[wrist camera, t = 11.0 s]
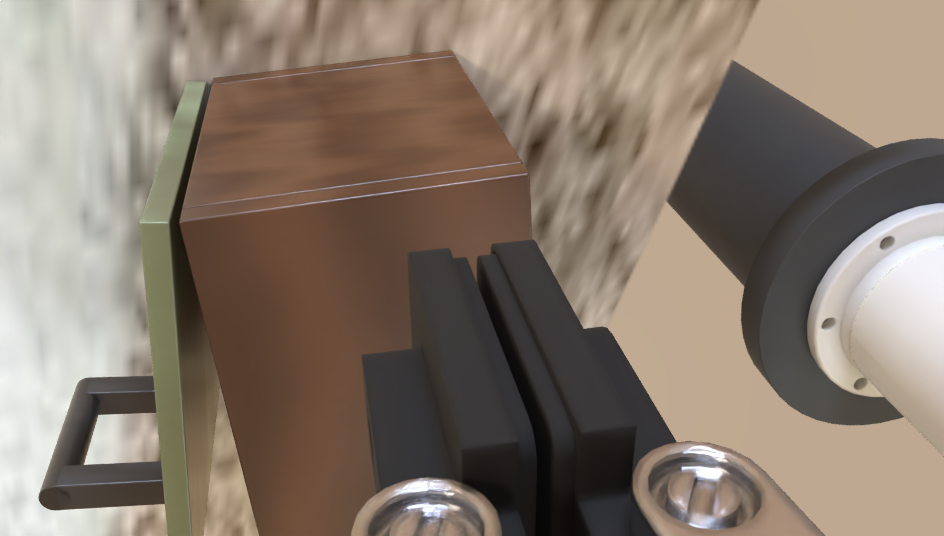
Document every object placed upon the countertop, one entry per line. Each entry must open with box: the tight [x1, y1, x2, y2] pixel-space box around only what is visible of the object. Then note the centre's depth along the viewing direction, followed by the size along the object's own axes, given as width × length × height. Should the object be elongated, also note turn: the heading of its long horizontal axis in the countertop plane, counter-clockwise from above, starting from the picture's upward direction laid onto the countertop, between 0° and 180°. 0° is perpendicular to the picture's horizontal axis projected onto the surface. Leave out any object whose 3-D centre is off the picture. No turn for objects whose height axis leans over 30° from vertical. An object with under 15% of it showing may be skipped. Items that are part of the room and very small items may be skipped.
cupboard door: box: [39, 81, 220, 536], centre depth 33 cm, size 6×15×14 cm, turn 175°
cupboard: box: [179, 51, 532, 536], centre depth 34 cm, size 10×15×14 cm
